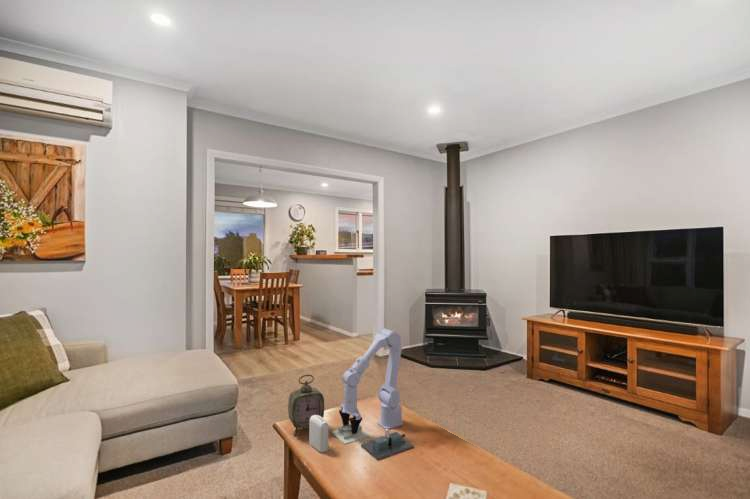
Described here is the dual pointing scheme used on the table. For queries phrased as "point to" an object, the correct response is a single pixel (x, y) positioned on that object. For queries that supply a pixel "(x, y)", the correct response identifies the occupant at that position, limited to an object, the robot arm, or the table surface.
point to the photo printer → (318, 433)
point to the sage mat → (350, 439)
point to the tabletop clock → (305, 405)
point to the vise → (387, 445)
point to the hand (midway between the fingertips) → (350, 429)
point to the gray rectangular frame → (348, 431)
